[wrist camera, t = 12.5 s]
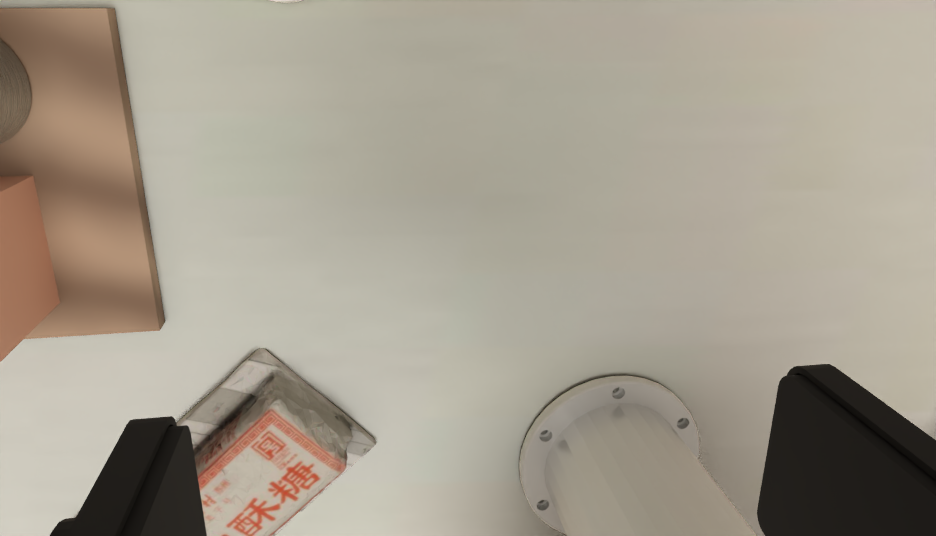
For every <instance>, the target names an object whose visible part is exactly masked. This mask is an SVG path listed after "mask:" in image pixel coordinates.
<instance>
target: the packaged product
mask: <svg viewBox="0 0 936 536" xmlns="http://www.w3.org/2000/svg"><path fill="white" fill-rule="evenodd" d="M176 424H177V426H184V425H187V426H188V427H189V429H190V432H191V438H192V444H193V450H194V457H195V463H196V470H197V476H198V482H199V489H200V495H201V501H202V508H203V514H204V521H205V527H206V533H207V536H275V535H276V534H277V533H278V532H280V531H281V530H282V529H283V528H284V527H285V526H286V525H287V524H288V523H289V522H290V521H291V519H292V518H293V517H294V516H295V515H296V514H297V513H298V512H300V511H302V510H303V509H305V508H306V507H307V506H308V505H309V504H310V503H311V502H312V501H313V500H314V499H316V498H317V497H318V496H319V495H320V494H321V493H322V492H323V491H325V490H326V489H327V488H328V486H329V485H330V484H332V483H333V482H334V481H336V480H337V479H338V478H339V477H340V476H341V475H342V474H344V473H345V472H346V471H347V470H348V469H349V468H350V467H352V466H353V465H354V464H355V463H356V462H357V461H358V460H359V459H360V458H362V457H363V456H364V455H365V454H366V453H367V452H368V451H369V450H370V449H372V448H373V447H374V446H375V445H376V443H377V442H376V441H375V439H374V438H373V437H372V436H370V435H369V434H368V433H367V432H366V431H365V430H364V429H362V428H361V427H360V426H359V425H358V424H356V423H355V422H354V421H353V420H352V419H350V418H349V417H348V416H347V415H346V414H344V413H343V412H342V411H341V410H339V409H338V408H337V407H336V406H335V405H333V404H332V403H331V402H330V401H329V400H327V399H326V398H325V397H324V396H322V395H321V394H320V393H318V392H317V391H316V390H314V389H313V388H311V387H310V386H309V385H308V384H307V383H306V382H304V381H303V380H302V379H301V378H300V377H299V376H298V375H296V374H295V373H294V372H293V371H291V370H290V369H289V368H288V367H286V366H285V365H284V364H283V363H281V362H280V361H279V360H277V359H276V358H275V357H274V356H272V355H271V354H270V353H269V352H267V351H266V350H265V349H264V348H259V349H258V350H257V351H255V352H254V353H253V354H252V355H251V356H250V357H249V358H248V359H247V360H245V361H244V362H243V363H242V364H241V365H240V366H239V367H238V368H237V369H236V370H235V371H234V372H233V373H232V374H231V375H230V376H229V378H228V379H226V380H225V381H224V382H223V383H222V384H221V385H219V386H218V387H217V388H216V389H215V390H213V391H212V392H211V393H210V394H209V395H208V396H206V397H205V398H204V399H203V400H202V401H200V402H199V403H198V404H197V405H196V406H194V407H193V408H192V409H191V410H190V411H189V412H188V413H187V414H186V415H185V416H184V417H183V418H181V419H180V420H179V421H178V422H177V423H176Z"/></svg>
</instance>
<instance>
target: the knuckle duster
mask: <svg viewBox="0 0 936 536" xmlns="http://www.w3.org/2000/svg"><path fill="white" fill-rule="evenodd" d="M269 1H275V2H282V3H293V2H299V1H303V0H269Z"/></svg>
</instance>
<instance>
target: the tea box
mask: <svg viewBox="0 0 936 536" xmlns="http://www.w3.org/2000/svg"><path fill="white" fill-rule="evenodd" d="M59 303H60V299H59V295H58V290H57V285H56V281H55V276H54V271H53V266H52V262H51V257H50V252H49V248H48V243H47V238H46V234H45V229H44V224H43V220H42V215H41V210H40V205H39V201H38V196H37V191H36V187H35V182H34V177H33V176H3V177H0V362H1V361H2V360H3V359H4V358H5V357H6V356H7V355H8V354H9V353H10V352H11V351H12V350H13V349H14V348H15V347H16V346H17V345H18V344H19V343H20V342H21V341H22V340H23V339H24V338H25V337H26V336H27V335H28V334H29V333H30V332H31V331H32V330H33V329H34V328H35V327H36V326H37V325H38V324H39V323H40V322H41V321H42V320H43V319H44V318H45V317H46V316H47V315H48V314H49V313H50V312H51V311H52V310H53V309H54V308H55V307H56V306H57V305H58V304H59Z"/></svg>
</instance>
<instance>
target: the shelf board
mask: <svg viewBox="0 0 936 536" xmlns="http://www.w3.org/2000/svg"><path fill="white" fill-rule="evenodd" d="M0 39H1V40H2V41H3V42H4V43H5V44H6V45H7V46H8V47H9V48H10V49H11V50H12V51H13V52H14V53H15V55H16V56H17V58H18V59H19V60H20V62H21V64H22V66H23V67H24V69H25V72H26V74H27V77H28V80H29V84H30V89H31V106H30V111H29V114H28V117H27V119H26V121H25V123H24V125H23V126H22V128H21V129H20V130H19V131H18V132H17V133H16V134H15V135H14V136H13V137H11V138H10V139H9V140H7V141H5V142H3V143H1V144H0V177H3V176H33V177H34V182H35V187H36V191H37V196H38V201H39V205H40V210H41V215H42V220H43V224H44V229H45V234H46V238H47V243H48V248H49V252H50V257H51V262H52V266H53V271H54V276H55V281H56V285H57V290H58V295H59V299H60V303H59V304H58V305H57V306H56V307H55V308H54V309H53V310H52V311H51V312H50V313H49V314H48V315H47V316H46V317H45V318H44V319H43V320H42V321H41V322H40V323H39V324H38V325H37V326H36V327H35V328H34V329H33V330H32V331H31V332H30V333H29V334H28V335H27V336H26V337H25V338H24V339H31V338H47V337H63V336H79V335H95V334H111V333H127V332H143V331H159V330H160V329H161V328H162V326H163V324H164V323H165V319H164V312H163V306H162V300H161V294H160V288H159V281H158V275H157V269H156V263H155V257H154V250H153V244H152V238H151V232H150V226H149V219H148V213H147V207H146V201H145V195H144V188H143V182H142V176H141V170H140V164H139V157H138V151H137V145H136V139H135V133H134V126H133V120H132V114H131V108H130V102H129V95H128V89H127V83H126V77H125V71H124V64H123V58H122V52H121V46H120V40H119V33H118V27H117V21H116V15H115V9H113V8H0Z"/></svg>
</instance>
